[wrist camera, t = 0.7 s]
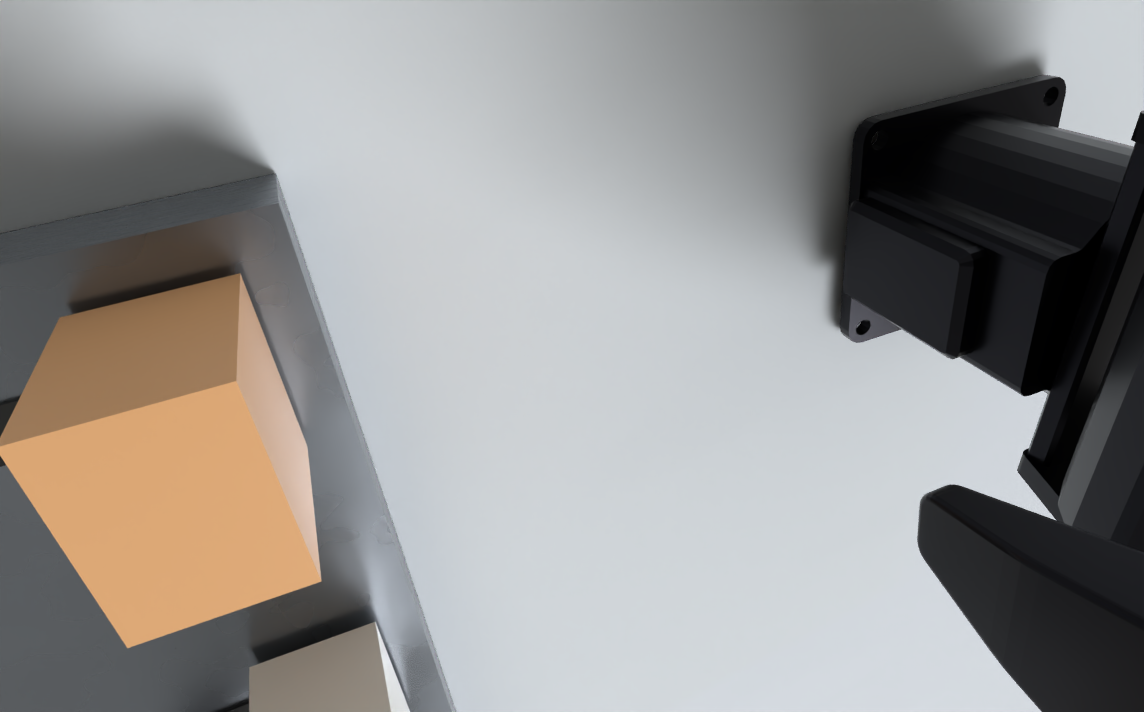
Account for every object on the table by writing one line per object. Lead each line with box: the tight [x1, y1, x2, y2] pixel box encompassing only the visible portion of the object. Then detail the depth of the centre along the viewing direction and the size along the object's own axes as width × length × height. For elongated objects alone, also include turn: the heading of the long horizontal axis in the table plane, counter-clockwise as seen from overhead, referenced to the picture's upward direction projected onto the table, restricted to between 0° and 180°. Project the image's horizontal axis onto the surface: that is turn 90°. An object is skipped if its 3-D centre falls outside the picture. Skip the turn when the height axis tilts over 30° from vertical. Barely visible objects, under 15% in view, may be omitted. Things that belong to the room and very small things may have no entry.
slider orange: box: [0, 273, 321, 648], centre depth 13 cm, size 3×4×4 cm
